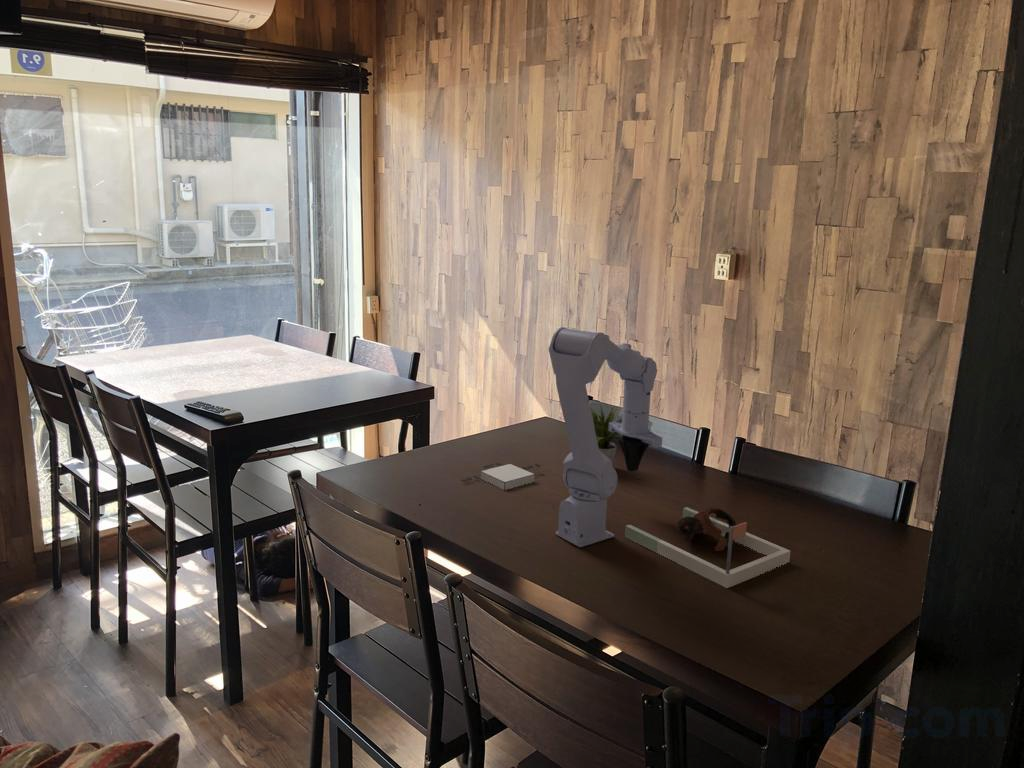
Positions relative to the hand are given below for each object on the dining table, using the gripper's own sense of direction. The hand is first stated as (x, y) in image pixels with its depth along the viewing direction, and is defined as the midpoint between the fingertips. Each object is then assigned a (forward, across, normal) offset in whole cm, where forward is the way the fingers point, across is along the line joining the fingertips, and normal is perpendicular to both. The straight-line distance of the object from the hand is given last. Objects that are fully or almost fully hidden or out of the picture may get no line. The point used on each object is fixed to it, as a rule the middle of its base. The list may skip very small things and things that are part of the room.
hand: (632, 470), depth 177 cm
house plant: (+10, +23, -13) cm, 28 cm away
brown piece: (+10, -21, 0) cm, 23 cm away
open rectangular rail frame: (+9, -23, +2) cm, 25 cm away
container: (+10, +31, +12) cm, 35 cm away
